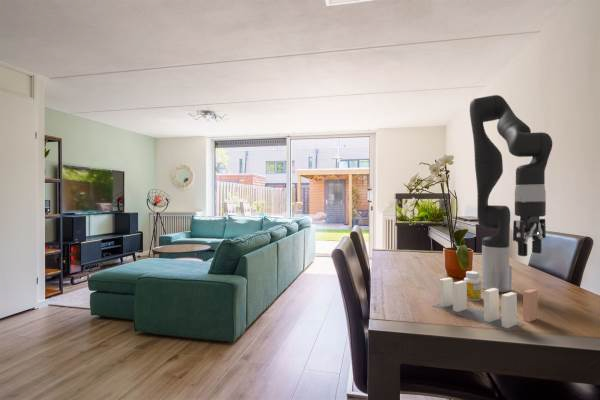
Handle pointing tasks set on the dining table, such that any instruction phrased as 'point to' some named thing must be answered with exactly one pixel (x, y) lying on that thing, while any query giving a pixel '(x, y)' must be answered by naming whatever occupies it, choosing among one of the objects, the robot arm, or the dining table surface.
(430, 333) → the dining table surface
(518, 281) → the dining table surface
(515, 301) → the domino
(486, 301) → the domino
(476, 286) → the supplement bottle
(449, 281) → the domino
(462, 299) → the domino
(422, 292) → the dining table surface
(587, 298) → the dining table surface
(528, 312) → the domino
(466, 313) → the mat
